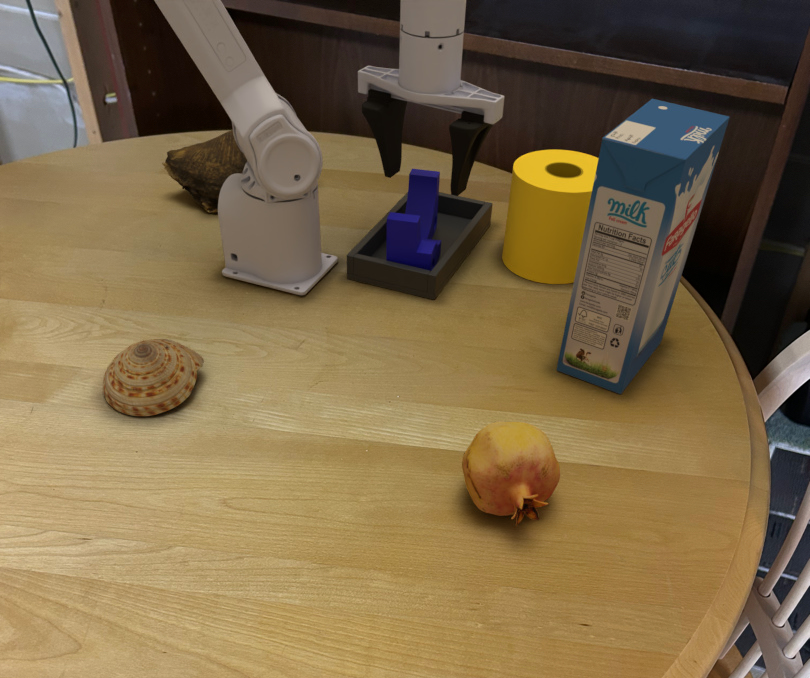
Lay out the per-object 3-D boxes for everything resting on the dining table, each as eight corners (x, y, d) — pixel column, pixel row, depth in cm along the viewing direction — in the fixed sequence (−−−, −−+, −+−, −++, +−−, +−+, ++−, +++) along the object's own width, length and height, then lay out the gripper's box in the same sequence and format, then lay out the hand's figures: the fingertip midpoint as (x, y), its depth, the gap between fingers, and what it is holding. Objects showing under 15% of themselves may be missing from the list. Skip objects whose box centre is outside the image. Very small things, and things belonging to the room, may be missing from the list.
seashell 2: (297, 165, 99) (297, 111, 93) (317, 213, 95) (319, 159, 89) (162, 180, 95) (154, 124, 89) (178, 230, 91) (170, 175, 85)
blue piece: (429, 282, 81) (432, 224, 76) (386, 276, 81) (386, 218, 77) (450, 228, 89) (453, 173, 84) (410, 223, 89) (412, 168, 85)
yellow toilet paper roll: (607, 250, 88) (626, 161, 81) (580, 293, 81) (599, 201, 74) (520, 229, 90) (532, 142, 83) (488, 269, 84) (498, 178, 77)
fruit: (440, 403, 59) (475, 494, 52) (530, 375, 59) (577, 462, 52) (456, 469, 64) (490, 559, 57) (539, 443, 64) (583, 531, 57)
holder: (346, 278, 82) (346, 254, 80) (412, 208, 93) (412, 186, 91) (434, 300, 80) (435, 276, 78) (490, 225, 91) (492, 202, 89)
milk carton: (620, 395, 70) (685, 159, 55) (555, 370, 72) (602, 137, 57) (661, 342, 76) (730, 116, 61) (600, 321, 78) (652, 98, 63)
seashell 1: (221, 342, 70) (172, 357, 63) (217, 404, 72) (170, 426, 65) (137, 323, 71) (80, 336, 64) (137, 385, 74) (82, 404, 67)
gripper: (525, 31, 71) (506, 185, 81) (384, 4, 76) (383, 152, 86) (490, 52, 67) (476, 211, 77) (344, 22, 72) (348, 176, 82)
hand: (424, 182), depth 81 cm, fingers open, 7 cm apart
